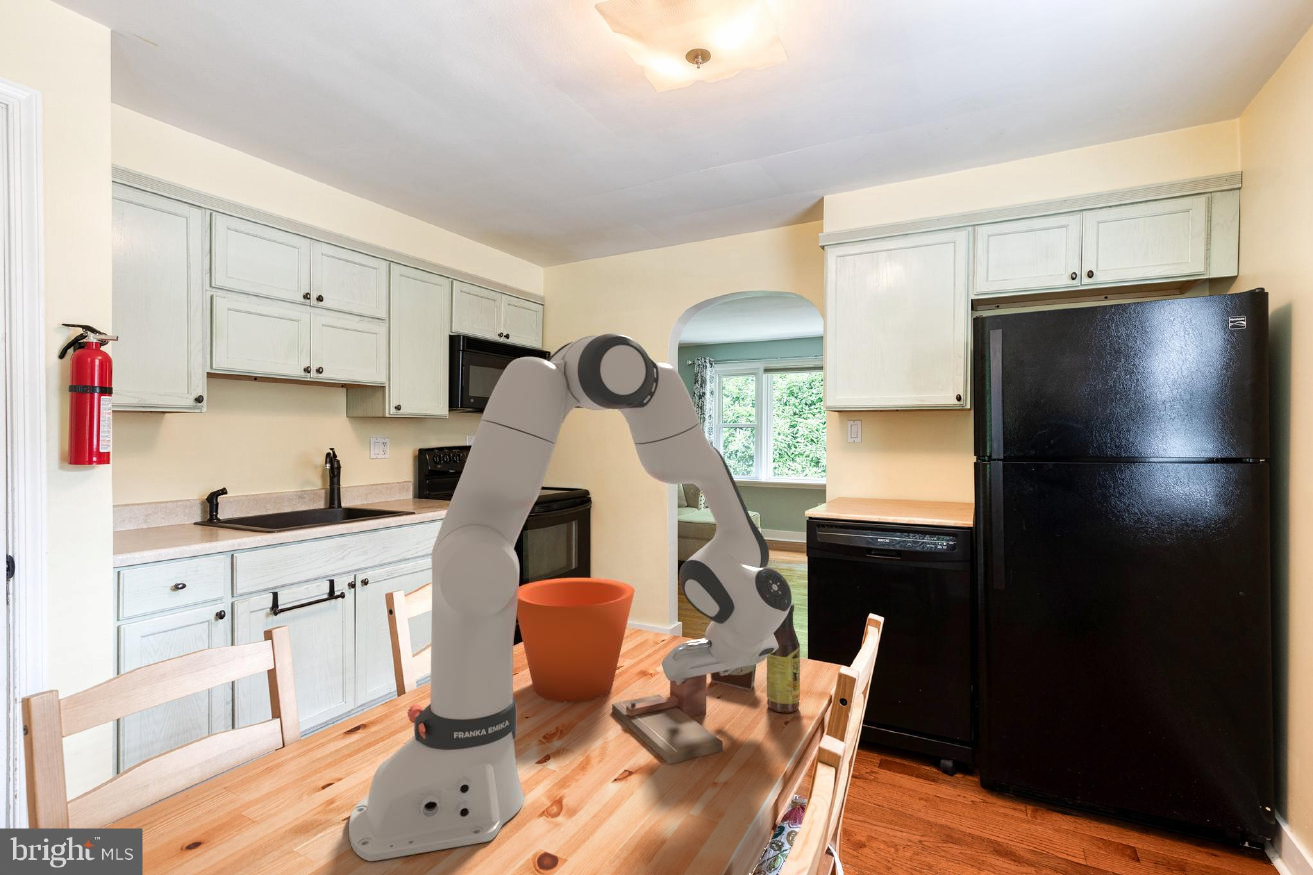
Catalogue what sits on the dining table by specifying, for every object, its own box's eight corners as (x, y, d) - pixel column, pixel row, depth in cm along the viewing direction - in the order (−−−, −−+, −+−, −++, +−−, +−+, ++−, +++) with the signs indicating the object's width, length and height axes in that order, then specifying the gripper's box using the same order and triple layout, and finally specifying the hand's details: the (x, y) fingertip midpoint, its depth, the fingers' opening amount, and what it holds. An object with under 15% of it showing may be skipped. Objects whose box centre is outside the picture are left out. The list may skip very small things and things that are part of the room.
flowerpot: (602, 720, 117) (603, 611, 117) (486, 700, 125) (487, 599, 125) (651, 674, 140) (651, 583, 140) (550, 659, 149) (550, 574, 149)
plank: (669, 764, 101) (669, 754, 101) (612, 711, 120) (612, 703, 120) (722, 750, 106) (722, 740, 106) (659, 701, 125) (659, 693, 125)
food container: (770, 682, 136) (770, 635, 136) (758, 692, 130) (758, 642, 130) (717, 671, 142) (718, 625, 142) (704, 679, 137) (705, 632, 137)
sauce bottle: (800, 715, 119) (800, 608, 119) (765, 712, 120) (766, 606, 121) (799, 701, 126) (800, 600, 126) (767, 698, 127) (767, 598, 127)
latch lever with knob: (634, 729, 113) (634, 679, 113) (622, 718, 117) (622, 670, 117) (706, 713, 120) (706, 666, 120) (692, 703, 125) (692, 658, 125)
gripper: (687, 665, 103) (657, 703, 112) (786, 646, 113) (752, 682, 121) (673, 630, 107) (645, 669, 116) (770, 614, 117) (738, 651, 125)
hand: (700, 676), depth 119 cm, fingers open, 8 cm apart
